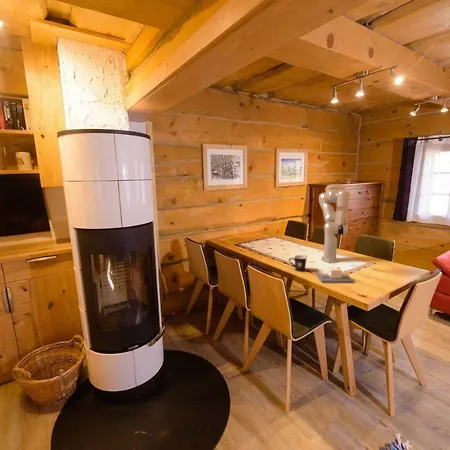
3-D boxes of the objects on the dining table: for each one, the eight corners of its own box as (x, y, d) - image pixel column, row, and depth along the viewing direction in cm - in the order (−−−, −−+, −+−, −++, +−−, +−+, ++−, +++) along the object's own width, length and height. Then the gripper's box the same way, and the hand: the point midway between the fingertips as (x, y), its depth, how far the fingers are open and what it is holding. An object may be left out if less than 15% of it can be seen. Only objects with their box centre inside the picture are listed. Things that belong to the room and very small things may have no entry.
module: (327, 274, 185) (328, 266, 184) (337, 274, 185) (338, 266, 183) (330, 278, 179) (331, 269, 178) (341, 278, 179) (342, 269, 178)
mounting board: (316, 275, 188) (316, 273, 188) (345, 275, 188) (346, 273, 187) (321, 282, 177) (321, 280, 176) (353, 282, 176) (353, 280, 175)
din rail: (320, 276, 183) (320, 273, 183) (347, 276, 183) (347, 273, 182) (321, 277, 181) (321, 275, 181) (348, 277, 180) (349, 275, 180)
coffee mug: (308, 270, 199) (308, 256, 198) (302, 273, 194) (302, 259, 192) (294, 266, 208) (294, 253, 206) (288, 269, 202) (288, 256, 200)
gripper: (333, 207, 196) (331, 232, 200) (340, 210, 182) (338, 236, 185) (343, 207, 196) (341, 232, 199) (352, 210, 181) (350, 236, 185)
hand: (340, 234), depth 192 cm, fingers closed
